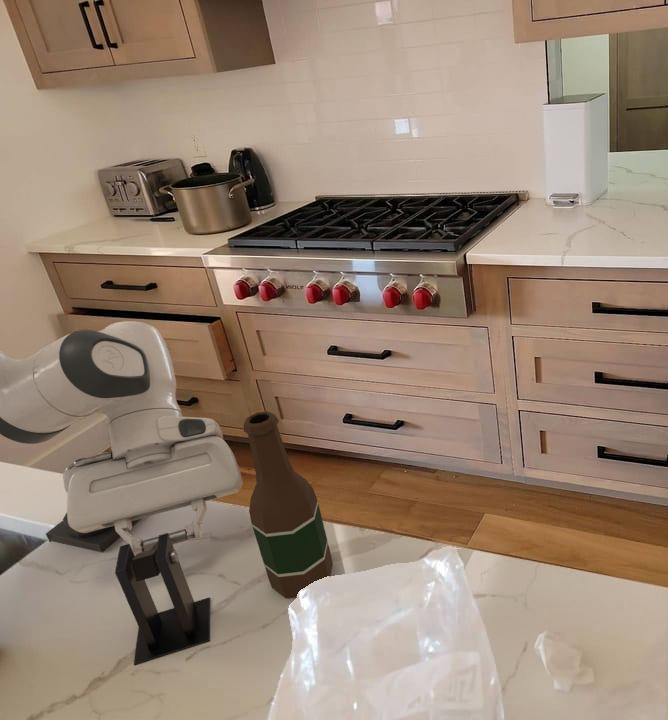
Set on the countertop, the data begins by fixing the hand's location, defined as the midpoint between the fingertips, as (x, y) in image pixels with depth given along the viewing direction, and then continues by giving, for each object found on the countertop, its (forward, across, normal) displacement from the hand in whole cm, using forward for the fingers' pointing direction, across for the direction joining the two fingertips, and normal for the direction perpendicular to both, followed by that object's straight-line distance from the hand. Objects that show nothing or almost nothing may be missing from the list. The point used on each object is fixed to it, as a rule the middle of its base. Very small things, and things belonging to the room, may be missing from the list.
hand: (166, 547), depth 84 cm
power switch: (+11, 0, -2) cm, 11 cm away
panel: (-7, -12, +15) cm, 20 cm away
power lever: (+2, 0, -5) cm, 6 cm away
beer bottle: (+9, +15, -1) cm, 18 cm away
